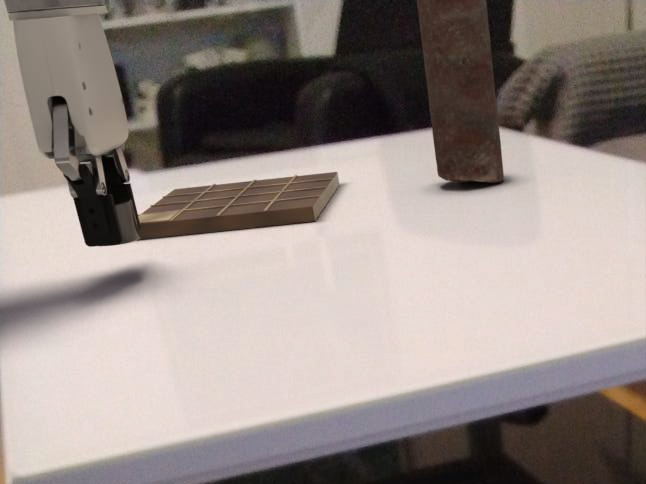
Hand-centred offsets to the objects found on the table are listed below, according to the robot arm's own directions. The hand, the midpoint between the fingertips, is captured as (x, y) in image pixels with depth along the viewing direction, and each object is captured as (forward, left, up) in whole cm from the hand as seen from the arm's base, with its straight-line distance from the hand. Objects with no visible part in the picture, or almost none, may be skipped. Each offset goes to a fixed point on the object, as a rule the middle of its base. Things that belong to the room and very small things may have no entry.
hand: (113, 236), depth 90 cm
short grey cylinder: (0, 0, 0) cm, 0 cm away
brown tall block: (+31, +29, -4) cm, 43 cm away
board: (+5, +27, -4) cm, 28 cm away
